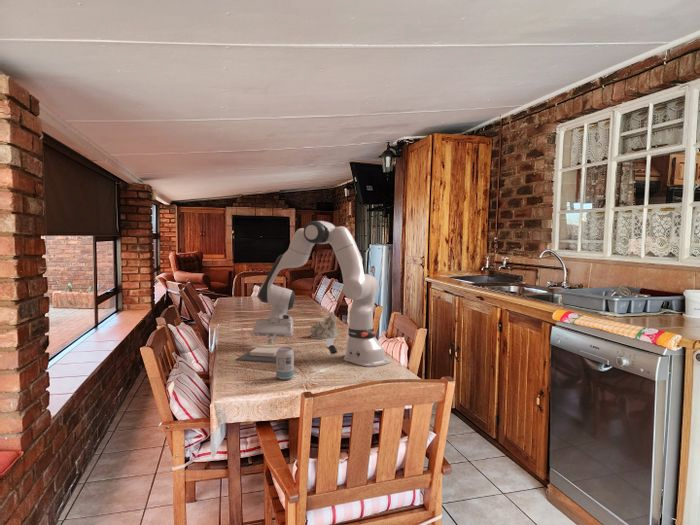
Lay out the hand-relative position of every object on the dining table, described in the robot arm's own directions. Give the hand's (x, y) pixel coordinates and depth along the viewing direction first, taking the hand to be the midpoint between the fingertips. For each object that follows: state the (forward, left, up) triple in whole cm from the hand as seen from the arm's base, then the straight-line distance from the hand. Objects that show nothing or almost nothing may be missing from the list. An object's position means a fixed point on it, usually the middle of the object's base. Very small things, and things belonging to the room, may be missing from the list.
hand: (269, 342), depth 216 cm
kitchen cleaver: (-5, -31, -6) cm, 31 cm away
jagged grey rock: (+16, -41, -5) cm, 45 cm away
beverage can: (-40, +11, -5) cm, 41 cm away
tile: (+1, -1, -3) cm, 3 cm away
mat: (-6, +6, -5) cm, 9 cm away
